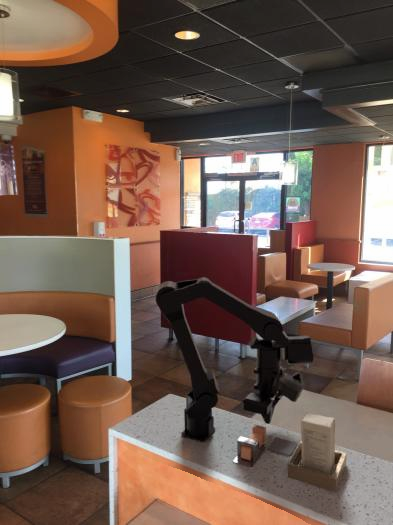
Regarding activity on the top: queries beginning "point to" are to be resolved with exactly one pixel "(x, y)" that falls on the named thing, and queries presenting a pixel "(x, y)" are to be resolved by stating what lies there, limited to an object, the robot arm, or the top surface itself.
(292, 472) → the open wooden box
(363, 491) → the top surface
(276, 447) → the coaster
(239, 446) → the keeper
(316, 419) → the skincare box
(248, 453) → the lock bar
